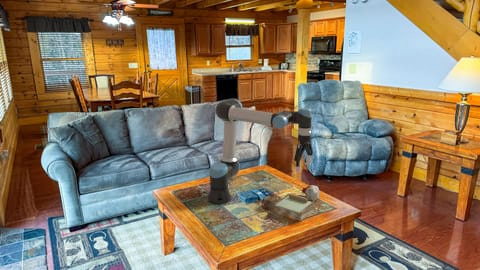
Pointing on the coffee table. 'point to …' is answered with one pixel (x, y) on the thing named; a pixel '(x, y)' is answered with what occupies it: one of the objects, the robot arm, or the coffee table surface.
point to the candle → (311, 192)
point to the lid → (294, 203)
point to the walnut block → (269, 202)
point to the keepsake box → (294, 215)
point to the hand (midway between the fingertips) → (303, 168)
